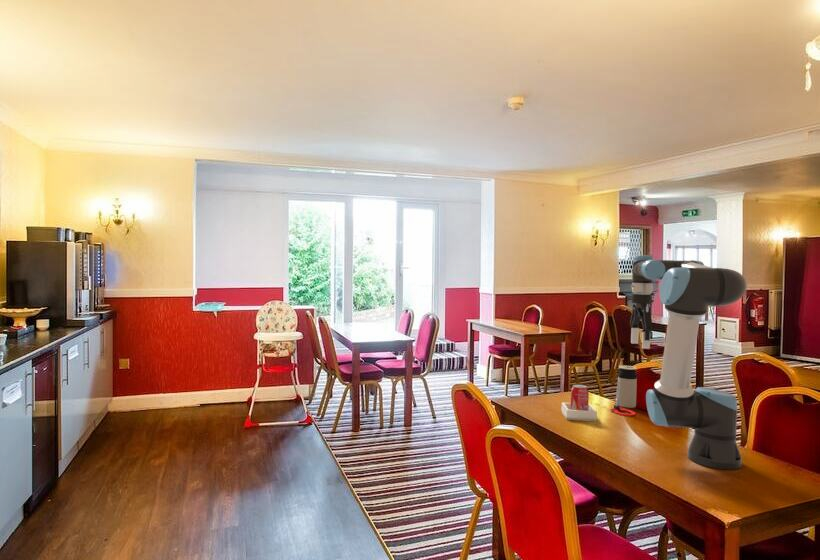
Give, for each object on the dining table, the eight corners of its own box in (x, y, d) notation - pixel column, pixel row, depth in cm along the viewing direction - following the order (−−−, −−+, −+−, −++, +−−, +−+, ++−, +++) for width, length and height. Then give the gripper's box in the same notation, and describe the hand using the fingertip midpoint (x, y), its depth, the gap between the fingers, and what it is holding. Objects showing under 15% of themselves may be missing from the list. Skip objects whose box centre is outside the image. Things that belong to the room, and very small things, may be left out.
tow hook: (639, 416, 217) (621, 409, 225) (641, 386, 216) (623, 381, 224) (626, 418, 213) (608, 411, 221) (628, 388, 212) (610, 383, 220)
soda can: (573, 410, 217) (574, 383, 217) (590, 413, 213) (591, 385, 213) (568, 414, 212) (568, 386, 211) (585, 417, 208) (586, 388, 207)
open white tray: (596, 421, 206) (597, 411, 206) (566, 419, 207) (566, 410, 207) (589, 413, 218) (590, 403, 218) (561, 411, 219) (561, 402, 219)
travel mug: (636, 409, 226) (638, 369, 226) (617, 407, 229) (619, 367, 229) (634, 404, 234) (636, 366, 234) (616, 402, 236) (617, 364, 236)
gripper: (622, 292, 216) (621, 341, 216) (642, 294, 191) (640, 350, 191) (641, 292, 215) (639, 341, 215) (663, 295, 190) (661, 351, 191)
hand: (640, 346), depth 203 cm, fingers open, 13 cm apart
